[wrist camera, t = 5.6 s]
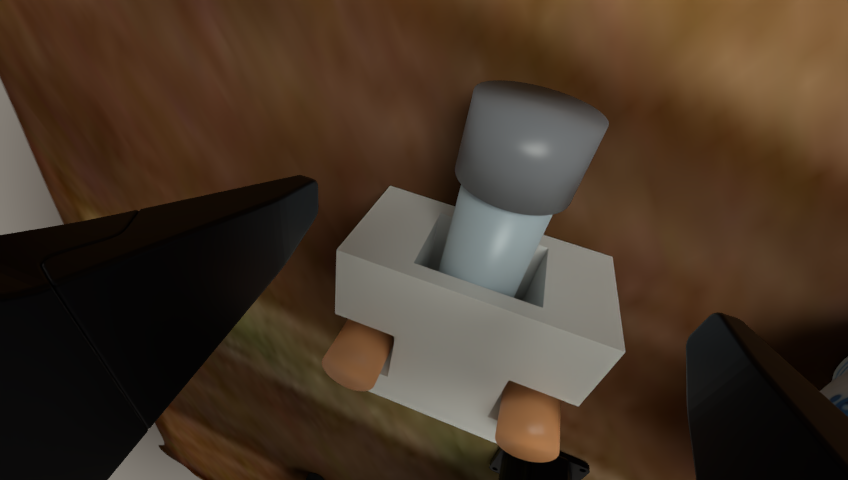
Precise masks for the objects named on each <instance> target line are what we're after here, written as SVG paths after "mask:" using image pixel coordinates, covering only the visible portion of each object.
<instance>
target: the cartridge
mask: <svg viewBox="0 0 848 480" xmlns="http://www.w3.org/2000/svg"><path fill="white" fill-rule="evenodd" d="M608 126H609V122H608V120H607V118H606V117H605V116H604V115H603V114H602V113H601V112H600V111H598V110H597V109H596V108H594V107H593V106H591V105H589V104H587V103H585V102H583V101H581V100H579V99H577V98H575V97H572V96H570V95H567V94H564V93H562V92H559V91H555V90H552V89H549V88H545V87H541V86H537V85H533V84H528V83H522V82H515V81H487V82H482V83H480V84H478V85H476V86H475V88H474V91H473V95H472V99H471V104H470V108H469V112H468V116H467V120H466V124H465V128H464V132H463V136H462V141H461V145H460V149H459V153H458V157H457V161H456V165H455V175H456V177H457V179H458V181H459V182H460V183H461V187H460V190H459V194H458V198H457V202H456V206H455V209H454V213H453V217H452V221H451V225H450V228H449V232H448V236H447V240H446V244H445V247H444V251H443V255H442V259H441V263H440V266H439V270H438V272H441V273H444V274H447V275H450V276H453V277H456V278H458V279H461V280H464V281H467V282H470V283H473V284H476V285H478V286H481V287H484V288H487V289H490V290H493V291H496V292H499V293H501V294H504V295H507V296H510V297H513V298H514V296H515V294H516V292H517V290H518V287H519V285H520V283H521V281H522V279H523V277H524V275H525V272H526V270H527V268H528V266H529V264H530V262H531V260H532V258H533V255H534V253H535V251H536V249H537V247H538V245H539V243H540V240H541V238H542V236H543V234H544V232H545V230H546V228H547V226H548V223H549V221H550V219H551V217H552V215H553V214H556V213H559V212H561V211H563V210H565V209H566V208H567V207H568V206H569V205H570V203H571V201H572V199H573V197H574V195H575V193H576V191H577V188H578V186H579V184H580V182H581V180H582V178H583V176H584V174H585V172H586V170H587V168H588V166H589V164H590V162H591V160H592V158H593V156H594V154H595V152H596V150H597V148H598V146H599V144H600V142H601V140H602V138H603V136H604V134H605V132H606V130H607V128H608Z"/></svg>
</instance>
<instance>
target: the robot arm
mask: <svg viewBox="0 0 848 480" xmlns="http://www.w3.org/2000/svg"><path fill="white" fill-rule="evenodd" d="M317 213H318V184H317V182H316V181H315V180H314V179H312V178H308V177H305V176H302V175H297V176H293V177H288V178H283V179H279V180H274V181H269V182H265V183H260V184H255V185H251V186H246V187H242V188H237V189H232V190H228V191H223V192H218V193H214V194H209V195H204V196H200V197H195V198H191V199H186V200H181V201H177V202H172V203H167V204H163V205H158V206H153V207H149V208H144V209H141V210H140V211H137V210H134V211H130V212H125V213H121V214H116V215H111V216H106V217H101V218H96V219H91V220H86V221H81V222H75V223H70V224H64V225H59V226H53V227H48V228H42V229H35V230H29V231H24V232H17V233H11V234H5V235H0V480H107V479H108V478H109V477H110V476H111V475H112V473H113V472H114V471H115V470H116V469H117V468H118V466H119V465H120V464H121V463H122V462H123V460H124V459H125V458H126V457H127V456H128V454H129V453H130V452H131V451H132V449H133V448H134V447H135V446H136V445H137V443H138V442H139V441H140V440H141V439H142V437H143V436H144V435H145V434H146V433H147V431H148V428H150V427H151V426H152V425H153V424H154V422H155V421H156V420H157V419H158V418H159V416H160V415H161V414H162V413H163V412H164V410H165V409H166V408H167V407H168V406H169V404H170V403H171V402H172V401H173V400H174V398H175V397H176V396H177V395H178V394H179V392H180V391H181V390H182V389H183V387H184V386H185V385H186V384H187V383H188V381H189V380H190V379H191V378H192V377H193V375H194V374H195V373H196V372H197V371H198V369H199V368H200V367H201V366H202V365H203V363H204V362H205V361H206V360H207V359H208V357H209V356H210V355H211V354H212V352H213V351H214V350H215V349H216V348H217V346H218V345H219V344H220V343H221V342H222V340H223V339H224V338H225V337H226V336H227V334H228V333H229V332H230V331H231V330H232V328H233V327H234V326H235V325H236V324H237V322H238V321H239V320H240V319H241V317H242V316H243V315H244V314H245V313H246V311H247V310H248V309H249V308H250V307H251V305H252V304H253V303H254V302H255V301H256V299H257V298H258V297H259V296H260V295H261V293H262V292H263V291H264V290H265V289H266V287H267V286H268V285H269V284H270V282H271V281H272V280H273V279H274V278H275V276H276V275H277V274H278V273H279V272H280V270H281V269H282V268H283V267H284V265H285V264H286V263H287V261H288V260H289V258H290V257H291V255H292V254H293V252H294V251H295V249H296V248H297V246H298V244H299V243H300V241H301V240H302V238H303V237H304V235H305V234H306V232H307V231H308V229H309V227H310V226H311V224H312V223H313V221H314V220H315V218H316V216H317ZM686 378H687V413H688V423H689V430H690V438H691V445H692V452H693V459H694V467H695V474H696V480H848V416H846V415H845V414H844V413H843V412H842V411H841V410H840V409H839V408H838V407H836V406H835V405H834V404H833V403H832V402H831V401H830V400H829V399H828V398H827V397H825V396H824V395H823V394H822V393H821V392H820V391H819V390H818V389H817V388H815V387H814V386H813V385H812V384H811V383H810V382H809V381H808V380H807V379H806V378H804V377H803V376H802V375H801V374H800V373H799V372H798V371H797V370H796V369H794V368H793V367H792V366H791V365H790V364H789V363H788V362H787V361H786V360H785V359H783V358H782V357H781V356H780V355H779V354H778V353H777V352H776V351H775V350H773V349H772V348H771V347H770V346H769V345H768V344H767V343H766V342H765V341H764V340H762V339H761V338H760V337H759V336H758V335H757V334H756V333H755V332H754V331H753V330H751V329H750V328H749V327H748V326H747V325H746V324H745V323H744V322H743V321H741V320H740V319H738V318H735V317H732V316H729V315H726V314H723V313H714V314H711V315H710V316H709V317H708V318H707V319H706V320H705V321H704V322H703V323H702V324H701V325H700V326H699V327H698V328H697V329H696V330H695V331H694V332H693V333H692V334H691V335H690V336H689V338H688V340H687V344H686ZM489 468H490V469H491V470H492V471H494V472H497V473H499V480H581V479H583V478H584V477H585V476H586V475H587V474H588V473H589V472H590V471H589V465H588V464H587V463H585V462H582V461H580V460H577V459H575V458H572V457H570V456H567V455H565V454H562V453H560V452H559V456H558V457H557V458H556V459H554V460H552V461H549V462H541V463H539V462H530V461H525V460H522V459H519V458H516V457H514V456H512V455H510V454H508V453H507V452H505V451H504V450H503V449H501V448H500V449H499V450H498V452H497V453H496V455H495V456H494V458H493V459H492V460H491V462H490V467H489Z"/></svg>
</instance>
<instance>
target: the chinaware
mask: <svg viewBox="0 0 848 480" xmlns="http://www.w3.org/2000/svg"><path fill="white" fill-rule="evenodd" d="M820 392H821V393H822V394H823V395H824V396H825V397H827V398H828V399H829V400H830V401H831V402H832V403H833V404H834V405H835V406H836V407H838V408H839V409H840V410H841V411H842V412H843V413H844V414H845V415H846V416H848V357H846V358H845V359H844V360H843V361H842V362H841V363H840V364H839V365H838V367H837V368H836V370H835V372H834V374H833V377H832V382H830V383H829V384H828V385H826V386H825V387H824V388H823V389H822V390H820Z"/></svg>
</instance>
